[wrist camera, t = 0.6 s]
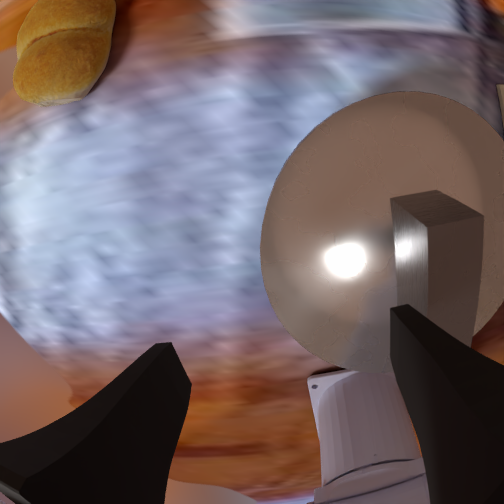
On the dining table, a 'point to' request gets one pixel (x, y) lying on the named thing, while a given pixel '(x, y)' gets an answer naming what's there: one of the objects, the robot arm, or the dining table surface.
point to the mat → (501, 99)
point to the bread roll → (63, 50)
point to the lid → (386, 227)
